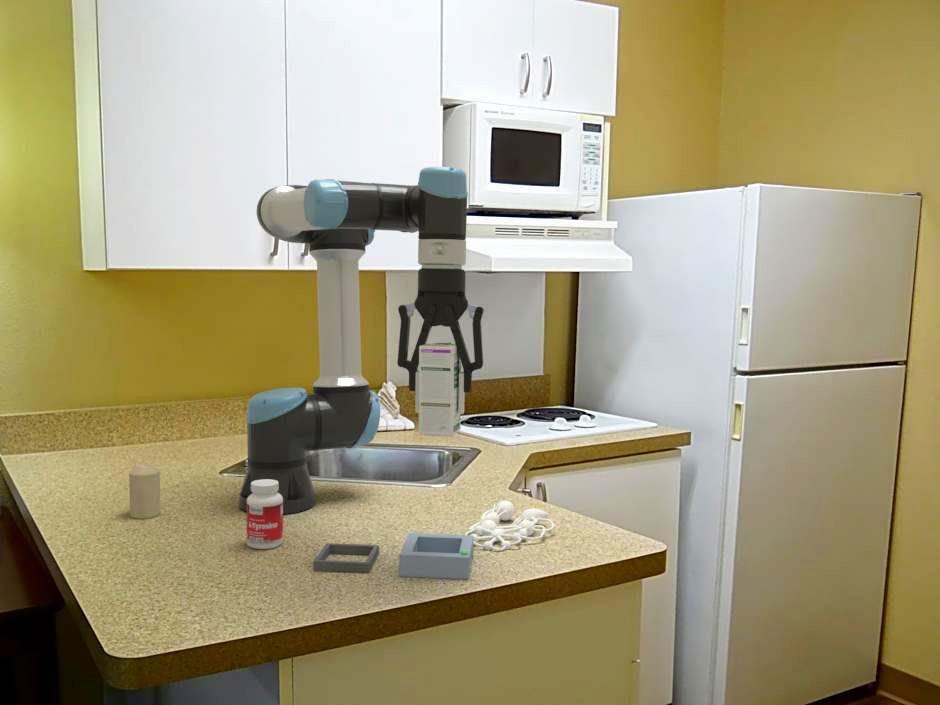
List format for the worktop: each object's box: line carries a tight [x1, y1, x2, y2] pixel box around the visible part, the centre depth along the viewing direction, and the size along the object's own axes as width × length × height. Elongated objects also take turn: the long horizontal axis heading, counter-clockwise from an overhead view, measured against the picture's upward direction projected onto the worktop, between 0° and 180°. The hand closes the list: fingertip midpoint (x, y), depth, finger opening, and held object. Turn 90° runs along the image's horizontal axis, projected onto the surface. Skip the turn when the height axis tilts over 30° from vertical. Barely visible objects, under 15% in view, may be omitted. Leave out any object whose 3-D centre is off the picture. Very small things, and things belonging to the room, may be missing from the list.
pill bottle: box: [246, 479, 284, 550], centre depth 146 cm, size 6×6×11 cm
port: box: [398, 532, 474, 580], centre depth 137 cm, size 11×11×4 cm
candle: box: [128, 462, 161, 520], centre depth 162 cm, size 6×6×10 cm
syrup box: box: [418, 341, 462, 438], centre depth 135 cm, size 6×6×14 cm
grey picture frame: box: [312, 542, 380, 574], centre depth 139 cm, size 9×9×2 cm
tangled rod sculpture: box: [464, 500, 555, 552], centre depth 154 cm, size 19×14×4 cm
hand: (439, 411), depth 135 cm, fingers closed on syrup box, 6 cm apart
